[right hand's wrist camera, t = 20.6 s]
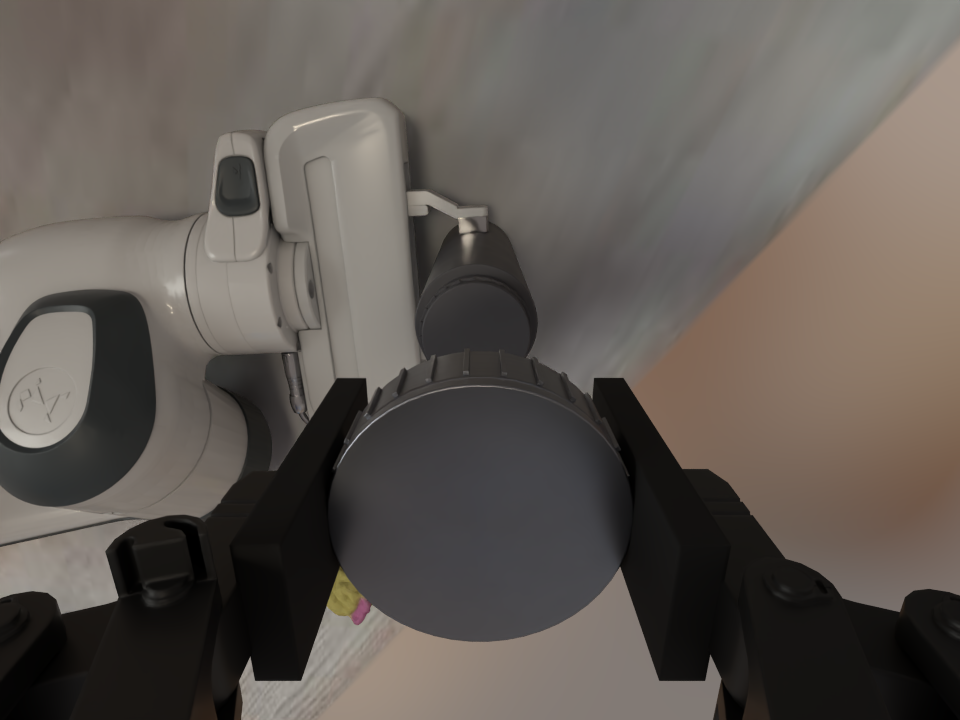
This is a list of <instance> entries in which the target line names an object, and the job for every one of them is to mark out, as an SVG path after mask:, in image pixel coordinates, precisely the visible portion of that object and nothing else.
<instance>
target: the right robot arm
mask: <svg viewBox="0 0 960 720" xmlns="http://www.w3.org/2000/svg"><path fill="white" fill-rule="evenodd" d="M592 401H593V403H594V405H595V407H596V409H597V412H598V413H599V415H600V417H601V418H603V417H605V418H606V420H607V422H608V424H609V426H610V428H611V430H612V432H613V434H614V437H615V439H616V441H617V443H618V445H619V447H620V449H621V450H620V451H619V454H620V456H621V458H622V460H623V462H624V464H625V466H626V468H627V471H628V473H629V475H630V480H629V482H630V485H631V491H632V496H633V505H634V510H633V522H632V531H631V539H630V542H629V546H628V549H627V552H626V554H625V556H624V559H623V561H622V563H621V565H620V567H621V570H622V573H623V576H624V579H625V582H626V585H627V588H628V590H629V593H630V596H631V599H632V602H633V605H634V608H635V611H636V614H637V617H638V620H639V623H640V626H641V628H642V632H643V634H644V637H645V640H646V643H647V646H648V649H649V652H650V655H651V658H652V661H653V664H654V667H655V670H656V673H657V675H658V678H659V681H705V679H706V673H707V668H708V663H709V658H710V654H711V657H712V659H713V661H714V663H715V665H716V667H717V670H718V672H719V674H720V676H721V678H722V679H721V684H720V689H719V694H718V699H717V704H716V708H715V713H714V718H713V720H960V596H959V595H956V594H953V593H950V592H945V591H938V590H932V589H925V590H916V591H913V592H912V593H910V594H909V595H908V596H906V597H905V599H904V602H903V605H902V608H901V611H900V612H896V611H892V610H887V609H883V608H879V607H874V606H870V605H865V604H861V603H857V602H853V601H849V600H846V599H843V598H842V597H841V595H840V594H839V592H838V591H837V590H836V588H835V587H834V585H833V584H832V583H831V582H830V581H828V580H827V579H826V578H825V577H824V576H822V575H821V574H820V573H818V572H817V571H815V570H813V569H811V568H809V567H807V566H805V565H803V564H801V563H798V562H794V561H791V560H787V559H785V557H784V556H783V555H782V553H781V552H780V551H779V549H778V548H777V547H776V545H775V544H774V543H773V542H772V540H771V539H770V538H769V536H768V535H767V534H766V532H765V531H764V530H763V528H762V527H761V526H760V525H759V523H758V522H757V521H756V519H755V518H754V516H753V515H750V511H749V510H748V509H747V507H746V506H745V505H744V503H743V502H740V498H739V497H738V495H737V494H736V493H735V492H734V490H733V489H732V487H731V486H730V485H729V484H728V483H727V482H726V481H725V480H723V479H722V478H720V477H719V476H717V475H716V474H714V473H713V472H711V471H710V470H708V469H682V468H681V467H680V465H679V464H678V462H677V460H676V459H675V457H674V456H673V454H672V453H671V451H670V450H669V448H668V447H667V445H666V443H665V442H664V440H663V439H662V437H661V436H660V434H659V433H658V431H657V429H656V428H655V426H654V425H653V423H652V422H651V420H650V419H649V417H648V415H647V414H646V412H645V411H644V409H643V408H642V406H641V405H640V403H639V402H638V400H637V398H636V397H635V395H634V394H633V392H632V391H631V389H630V388H629V386H628V384H627V383H626V381H625V380H624V378H594V387H593V400H592ZM367 405H368V395H367V382H366V378H337V379H336V380H335V382H334V383H333V385H332V387H331V388H330V390H329V391H328V393H327V394H326V396H325V397H324V399H323V401H322V402H321V404H320V405H319V407H318V408H317V410H316V411H315V413H314V414H313V416H312V418H311V419H310V421H309V422H308V424H307V425H306V427H305V428H304V430H303V432H302V433H301V435H300V436H299V438H298V439H297V441H296V442H295V444H294V445H293V447H292V449H291V450H290V452H289V453H288V455H287V456H286V458H285V459H284V461H283V463H282V464H281V466H280V467H279V469H278V470H277V471H252V472H250V473H249V474H247V475H246V476H245V477H243V478H242V479H240V480H239V481H237V482H236V483H234V484H233V485H232V486H231V488H230V489H229V490H228V491H227V493H226V494H225V495H224V497H223V498H222V499H221V503H220V504H218V505H217V506H216V507H215V509H214V510H213V511H212V513H211V517H208V518H207V519H206V521H205V522H203V521H202V520H201V519H200V518H199V517H194V516H190V515H185V514H184V515H168V516H164V517H160V518H156V519H152V520H148V521H146V522H144V523H141V524H139V525H137V526H135V527H133V528H130V529H129V530H127V531H126V532H125V533H123V534H122V535H120V536H119V537H118V538H116V539H115V540H114V541H113V542H112V544H111V545H110V546H109V547H108V549H107V550H106V551H105V552H106V555H107V559H108V562H109V565H110V569H111V572H112V576H113V579H114V583H115V586H116V590H117V593H118V597H119V598H118V600H117V601H115V602H112V603H109V604H105V605H101V606H96V607H92V608H87V609H83V610H79V611H74V612H70V613H65V614H61V612H60V609H59V607H58V604H57V601H56V599H55V598H53V597H52V596H51V595H49V594H48V593H43V592H34V591H31V592H25V593H18V594H12V595H9V596H6V597H3V598H1V599H0V720H241V714H242V704H243V702H242V695H241V689H240V684H239V680H240V678H241V675H242V673H243V671H244V669H245V667H246V664H247V662H248V660H249V658H250V656H251V661H252V667H253V672H254V677H255V681H301V679H302V676H303V674H304V671H305V668H306V665H307V662H308V659H309V656H310V653H311V650H312V647H313V644H314V641H315V638H316V635H317V633H318V630H319V627H320V624H321V621H322V618H323V615H324V612H325V609H326V606H327V603H328V600H329V597H330V594H331V591H332V589H333V586H334V583H335V580H336V577H337V574H338V571H339V568H340V565H339V562H338V560H337V558H336V555H335V553H334V551H333V548H332V544H331V540H330V536H329V528H328V519H327V498H328V493H329V488H330V483H331V480H332V477H333V475H334V473H333V472H332V468H333V466H334V464H335V462H336V460H337V457H338V455H339V453H340V451H341V449H342V447H343V445H344V440H345V438H346V436H347V434H348V432H349V430H350V428H351V426H352V424H353V421H354V419H355V417H356V415H357V413H358V412H359V410H360V411H362V412H363V411H364V409H365V408H366V406H367Z"/></svg>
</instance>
